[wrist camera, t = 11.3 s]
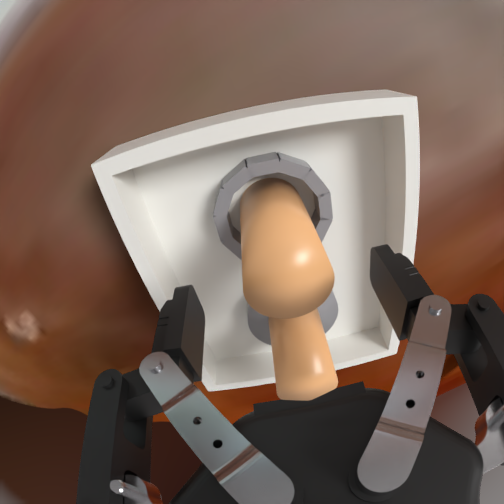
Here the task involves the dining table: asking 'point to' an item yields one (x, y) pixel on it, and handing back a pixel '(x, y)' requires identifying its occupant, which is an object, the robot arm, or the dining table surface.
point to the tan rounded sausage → (281, 252)
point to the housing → (229, 229)
